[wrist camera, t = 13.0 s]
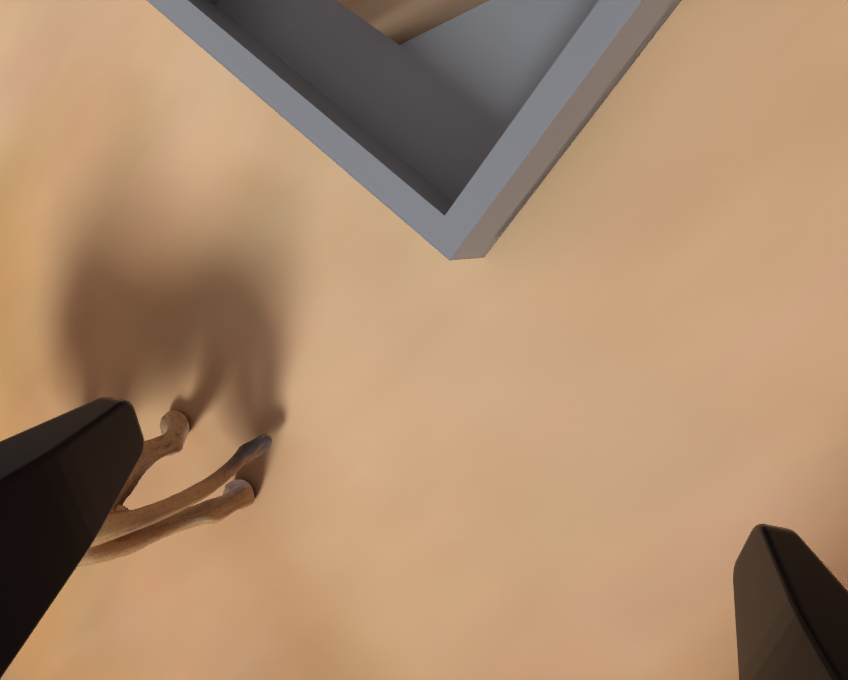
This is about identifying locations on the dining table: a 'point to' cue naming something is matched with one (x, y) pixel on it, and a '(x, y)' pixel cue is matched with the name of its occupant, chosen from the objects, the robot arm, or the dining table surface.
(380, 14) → the walnut block
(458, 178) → the tray
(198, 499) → the lion figurine
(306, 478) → the dining table surface
